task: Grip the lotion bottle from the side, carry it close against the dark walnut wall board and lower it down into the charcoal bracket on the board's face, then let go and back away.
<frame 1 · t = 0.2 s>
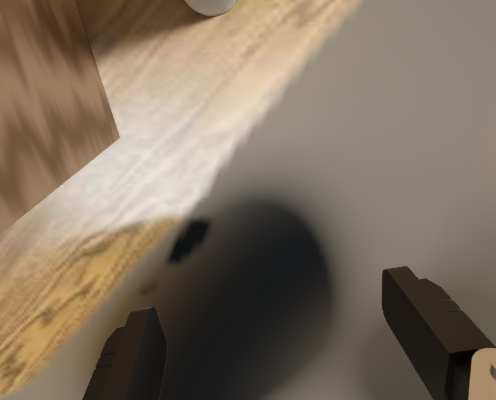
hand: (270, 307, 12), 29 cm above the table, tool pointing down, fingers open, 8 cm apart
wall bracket: (14, 53, 34), on the table
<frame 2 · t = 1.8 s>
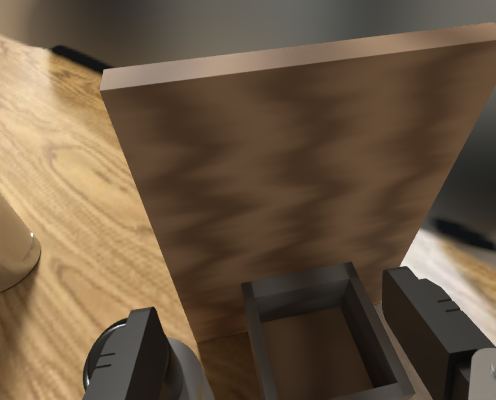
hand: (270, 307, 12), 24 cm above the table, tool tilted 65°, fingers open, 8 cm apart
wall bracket: (307, 377, 32), on the table
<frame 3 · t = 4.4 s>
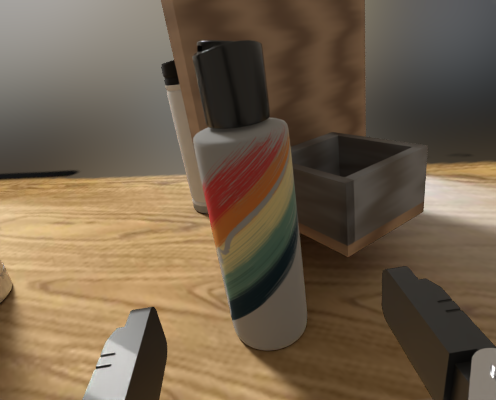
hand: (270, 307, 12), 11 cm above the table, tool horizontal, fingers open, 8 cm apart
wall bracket: (344, 251, 33), on the table
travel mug: (217, 205, 48), on the table
lotion bottle: (271, 324, 26), on the table
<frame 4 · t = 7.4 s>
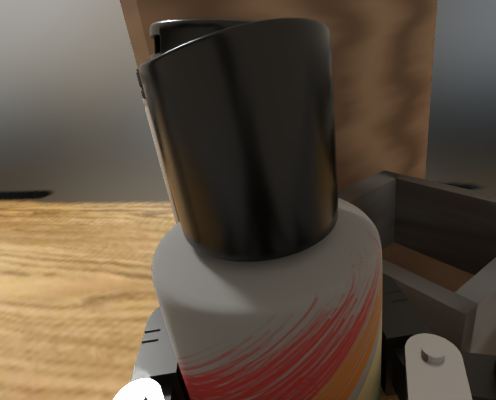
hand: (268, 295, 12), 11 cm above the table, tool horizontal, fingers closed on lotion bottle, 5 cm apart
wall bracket: (408, 356, 22), on the table
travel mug: (216, 252, 37), on the table
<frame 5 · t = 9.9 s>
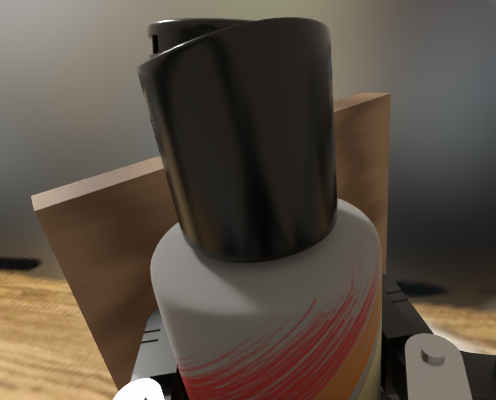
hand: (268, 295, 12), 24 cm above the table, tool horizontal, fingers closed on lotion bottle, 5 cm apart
when the fingers open (17 cm above the table, at t = 12.6 s): lotion bottle stays where it is, resting on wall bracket.
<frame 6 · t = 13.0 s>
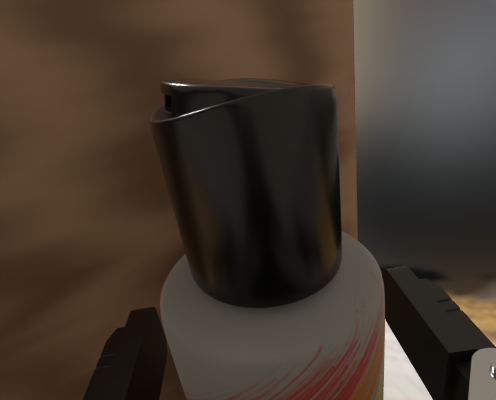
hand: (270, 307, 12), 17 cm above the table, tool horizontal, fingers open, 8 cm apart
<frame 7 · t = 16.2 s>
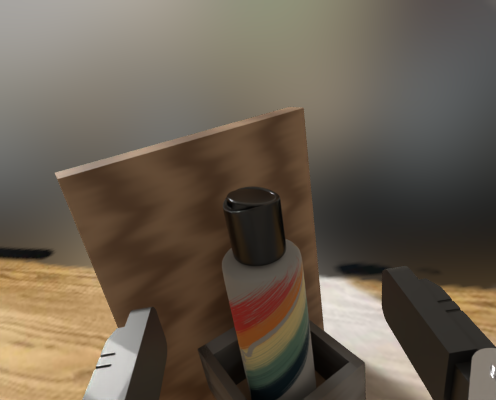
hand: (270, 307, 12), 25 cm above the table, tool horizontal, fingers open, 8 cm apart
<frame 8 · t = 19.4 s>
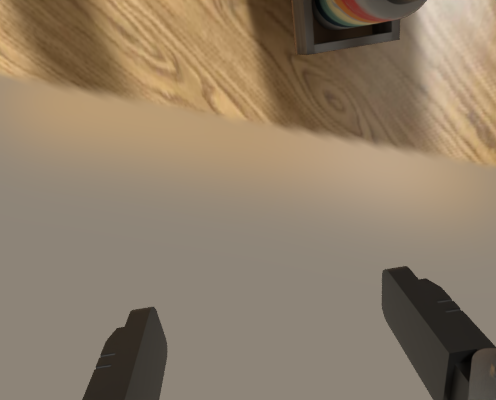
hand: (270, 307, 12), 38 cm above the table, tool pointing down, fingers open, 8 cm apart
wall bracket: (324, 5, 42), on the table
lotion bottle: (335, 2, 38), point 5 cm above the table, touching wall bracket
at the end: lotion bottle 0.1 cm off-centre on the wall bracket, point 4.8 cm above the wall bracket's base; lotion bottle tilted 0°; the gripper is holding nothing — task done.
